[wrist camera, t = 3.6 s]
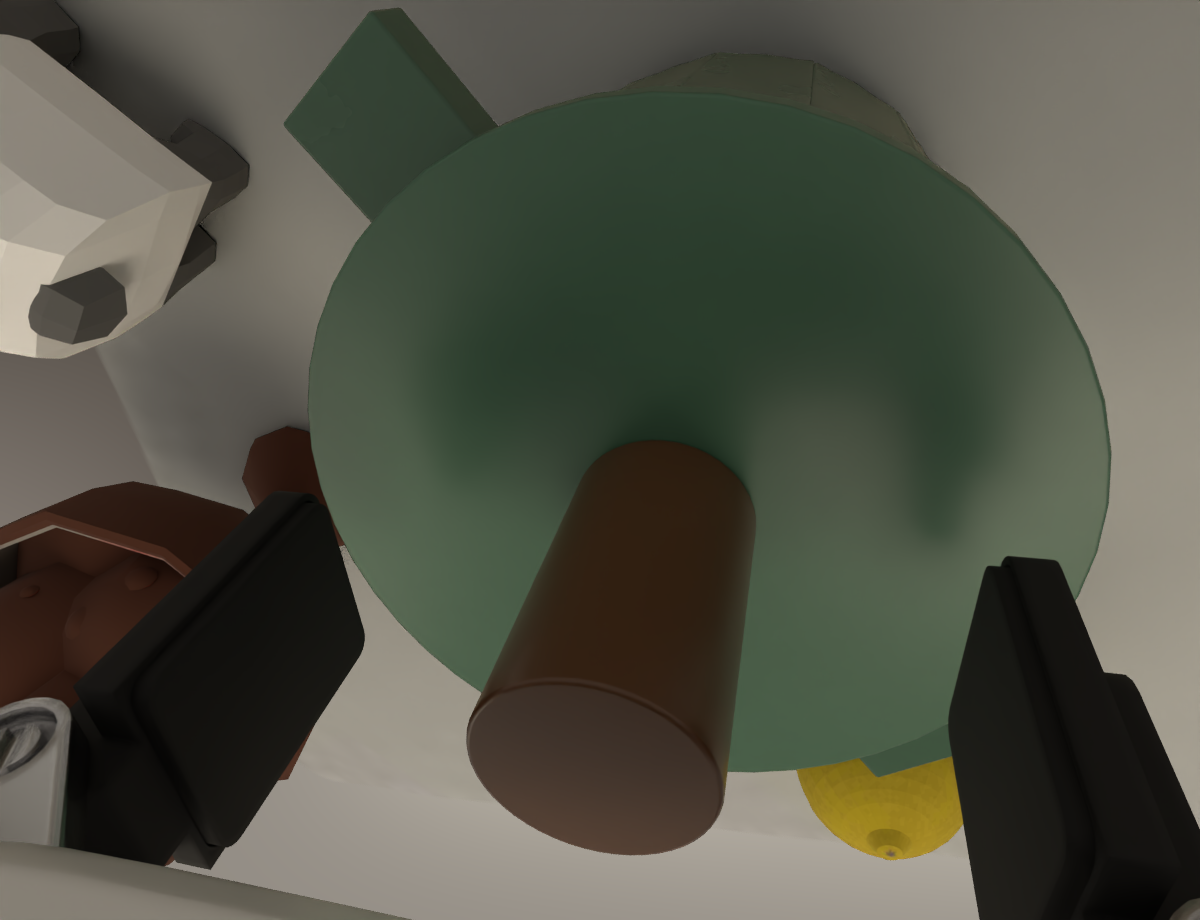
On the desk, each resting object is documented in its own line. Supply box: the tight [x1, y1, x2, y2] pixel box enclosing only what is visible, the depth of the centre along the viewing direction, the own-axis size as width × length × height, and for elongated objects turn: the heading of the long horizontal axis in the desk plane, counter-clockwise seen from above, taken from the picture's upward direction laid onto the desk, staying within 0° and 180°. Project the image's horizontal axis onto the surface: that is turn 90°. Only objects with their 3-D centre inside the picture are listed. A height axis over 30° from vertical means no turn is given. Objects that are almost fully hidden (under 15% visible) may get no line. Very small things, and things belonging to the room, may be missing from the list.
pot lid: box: [308, 86, 1111, 855], centre depth 11 cm, size 13×13×6 cm
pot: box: [284, 8, 952, 777], centre depth 18 cm, size 12×17×11 cm
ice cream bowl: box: [0, 426, 345, 866], centre depth 25 cm, size 11×11×15 cm
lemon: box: [797, 757, 963, 860], centre depth 25 cm, size 6×6×8 cm
